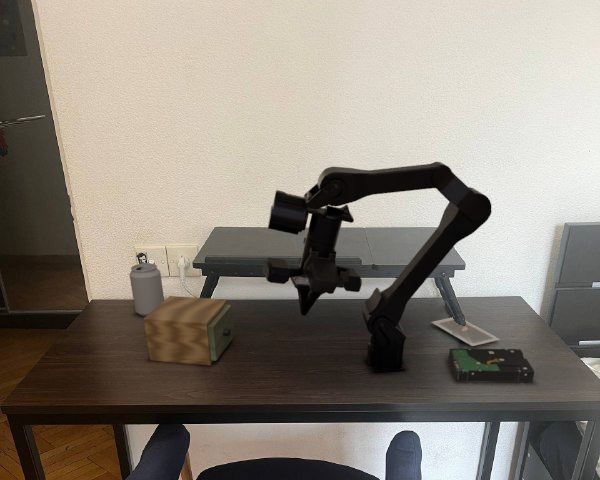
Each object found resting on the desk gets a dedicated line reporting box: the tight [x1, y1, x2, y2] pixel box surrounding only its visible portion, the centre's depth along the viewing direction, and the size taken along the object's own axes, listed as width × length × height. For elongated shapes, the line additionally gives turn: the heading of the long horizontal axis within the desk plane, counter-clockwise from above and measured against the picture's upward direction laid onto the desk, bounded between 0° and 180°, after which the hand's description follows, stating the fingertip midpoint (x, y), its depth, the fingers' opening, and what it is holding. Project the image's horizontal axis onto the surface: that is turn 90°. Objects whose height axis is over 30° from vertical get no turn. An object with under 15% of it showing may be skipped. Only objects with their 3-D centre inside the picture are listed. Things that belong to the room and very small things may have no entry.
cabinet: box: [143, 295, 228, 366], centre depth 126 cm, size 14×14×10 cm
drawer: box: [208, 304, 235, 362], centre depth 126 cm, size 14×12×8 cm
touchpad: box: [430, 316, 501, 347], centre depth 133 cm, size 8×15×2 cm, turn 25°
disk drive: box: [448, 347, 535, 383], centre depth 117 cm, size 10×3×15 cm
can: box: [128, 262, 165, 317], centre depth 145 cm, size 8×8×12 cm
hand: (303, 314), depth 116 cm, fingers closed
